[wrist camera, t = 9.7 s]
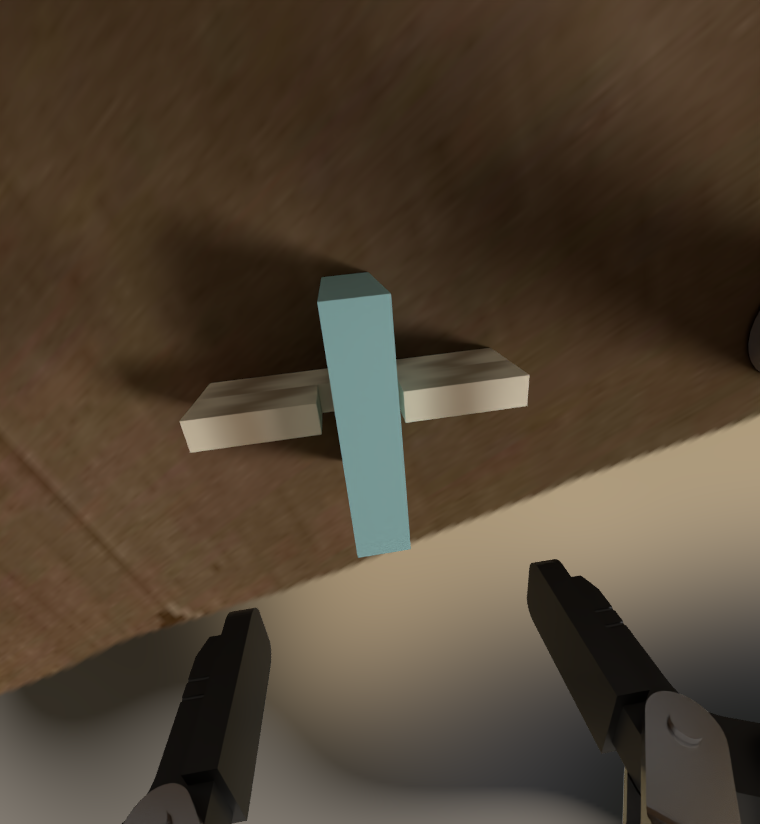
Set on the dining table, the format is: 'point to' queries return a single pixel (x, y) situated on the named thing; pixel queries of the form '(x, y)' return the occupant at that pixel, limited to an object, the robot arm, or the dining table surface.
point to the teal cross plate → (366, 407)
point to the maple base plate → (311, 396)
